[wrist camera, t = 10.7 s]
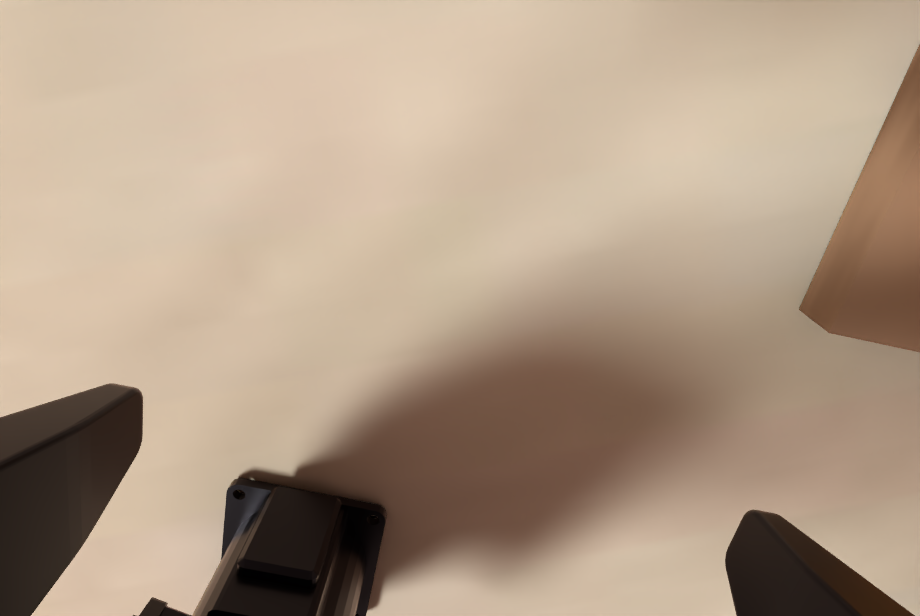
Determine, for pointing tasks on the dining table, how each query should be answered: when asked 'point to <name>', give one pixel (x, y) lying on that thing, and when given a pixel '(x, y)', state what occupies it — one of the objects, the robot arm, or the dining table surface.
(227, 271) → the dining table surface
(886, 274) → the brown peg board
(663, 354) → the dining table surface
